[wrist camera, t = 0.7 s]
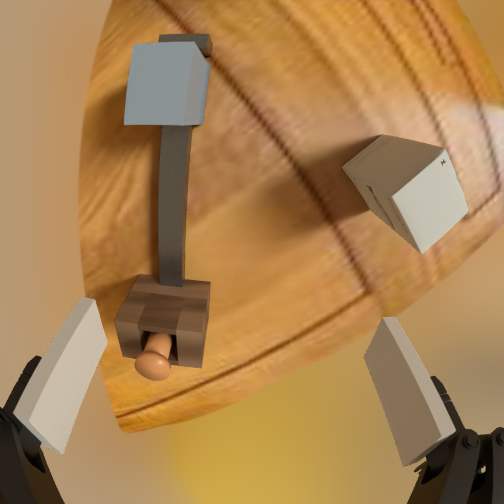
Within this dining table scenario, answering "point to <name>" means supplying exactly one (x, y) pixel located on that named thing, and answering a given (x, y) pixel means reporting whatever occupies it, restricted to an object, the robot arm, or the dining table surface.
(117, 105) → the dining table surface
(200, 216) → the dining table surface
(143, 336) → the end block
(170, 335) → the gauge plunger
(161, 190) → the rail
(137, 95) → the block
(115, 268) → the dining table surface
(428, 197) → the supplement box
